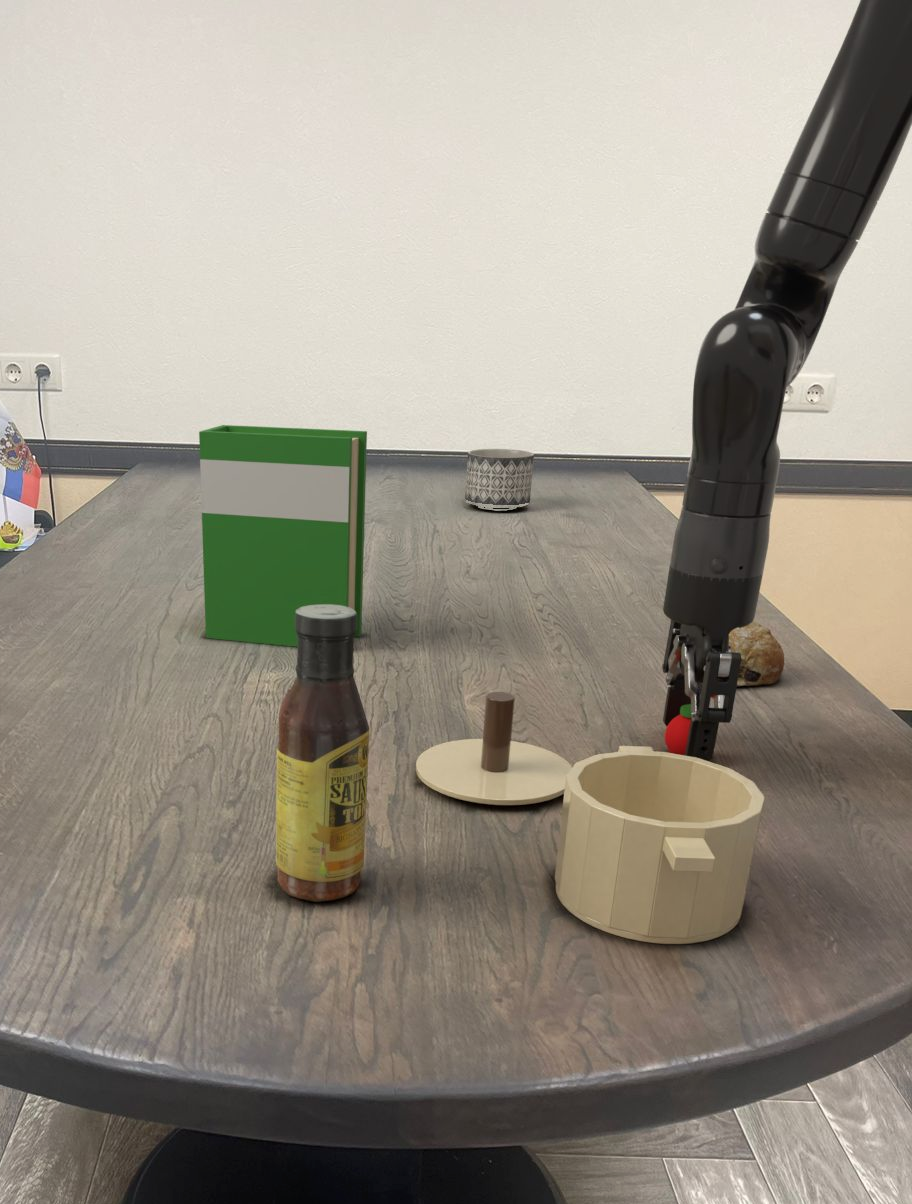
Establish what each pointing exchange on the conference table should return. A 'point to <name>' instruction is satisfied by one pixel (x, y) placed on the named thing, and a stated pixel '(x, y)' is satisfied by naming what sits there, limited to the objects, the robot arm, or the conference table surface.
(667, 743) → the tomato
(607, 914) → the pot
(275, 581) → the hardback book
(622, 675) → the conference table surface
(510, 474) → the planter
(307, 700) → the sauce bottle
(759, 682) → the bread roll
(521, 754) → the lid
